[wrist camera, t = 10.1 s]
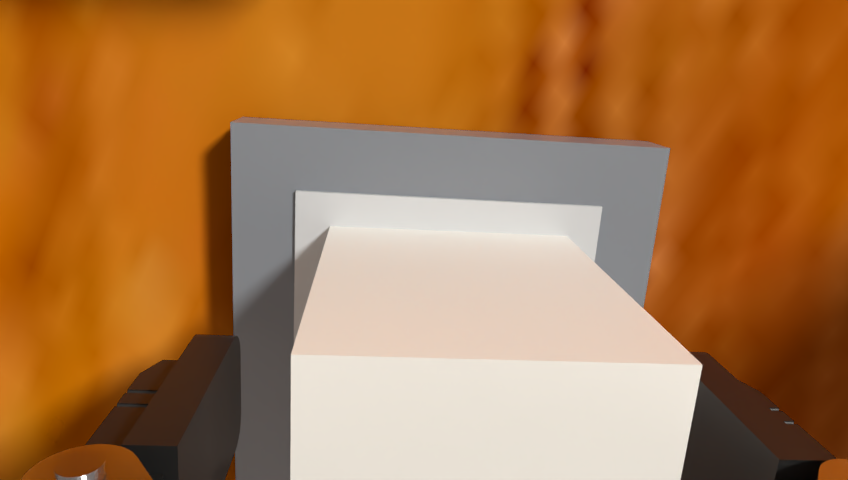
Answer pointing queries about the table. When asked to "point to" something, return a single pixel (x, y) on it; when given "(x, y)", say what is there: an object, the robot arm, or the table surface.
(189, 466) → the robot arm
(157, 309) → the table surface
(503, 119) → the table surface
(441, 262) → the cream brick
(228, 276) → the table surface
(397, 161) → the baseplate
